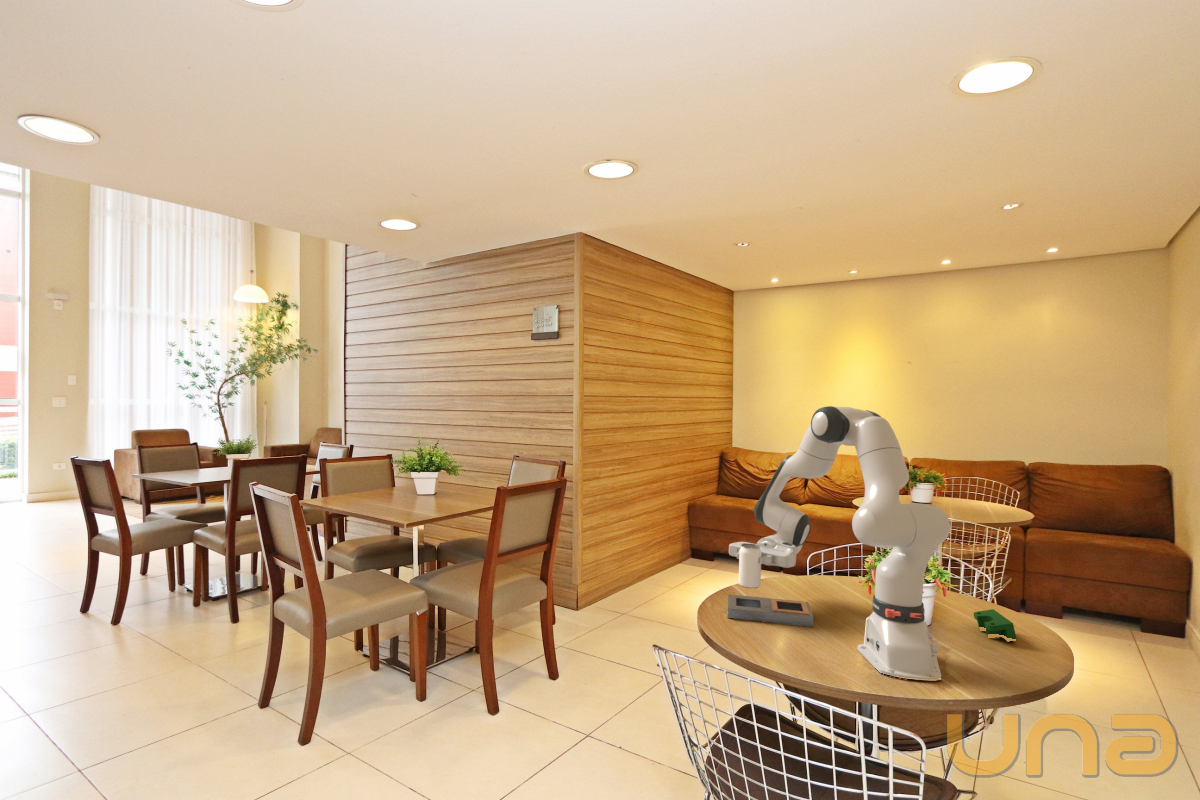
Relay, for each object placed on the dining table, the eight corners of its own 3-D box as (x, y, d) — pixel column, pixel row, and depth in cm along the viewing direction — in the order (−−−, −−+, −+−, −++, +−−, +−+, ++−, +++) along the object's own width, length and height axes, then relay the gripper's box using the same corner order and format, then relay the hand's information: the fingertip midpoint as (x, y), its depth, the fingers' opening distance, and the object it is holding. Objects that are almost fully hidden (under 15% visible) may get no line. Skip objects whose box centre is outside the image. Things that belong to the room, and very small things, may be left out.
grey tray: (812, 627, 178) (813, 615, 178) (727, 618, 183) (727, 607, 183) (807, 611, 190) (808, 601, 190) (728, 603, 195) (728, 593, 195)
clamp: (981, 645, 179) (969, 612, 183) (1003, 642, 178) (991, 609, 182) (996, 644, 168) (983, 609, 172) (1020, 641, 167) (1006, 606, 171)
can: (755, 590, 183) (756, 549, 183) (734, 585, 187) (736, 545, 187) (763, 585, 188) (765, 545, 188) (744, 580, 192) (745, 542, 192)
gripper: (741, 535, 204) (719, 541, 194) (800, 546, 190) (780, 554, 180) (740, 554, 204) (718, 562, 194) (800, 567, 190) (779, 576, 180)
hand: (748, 558), depth 187 cm, fingers closed on can, 5 cm apart
